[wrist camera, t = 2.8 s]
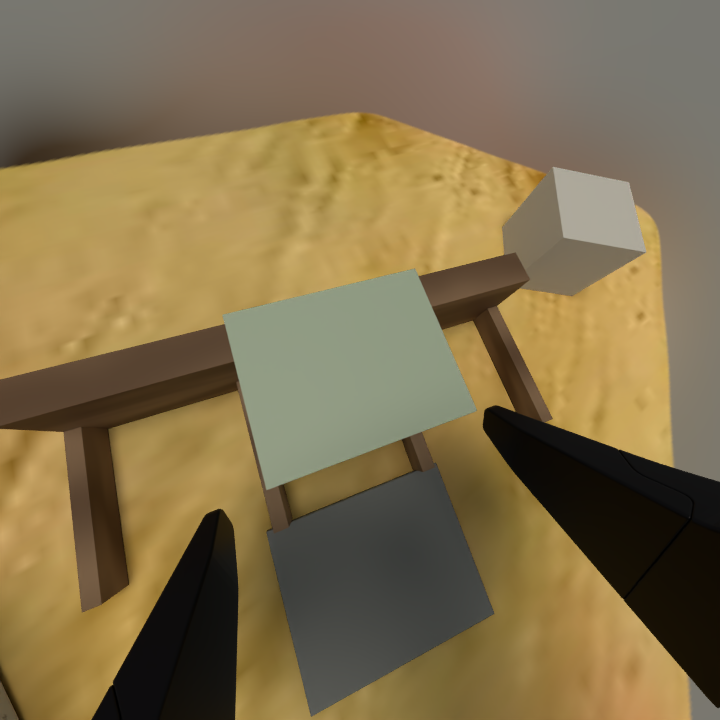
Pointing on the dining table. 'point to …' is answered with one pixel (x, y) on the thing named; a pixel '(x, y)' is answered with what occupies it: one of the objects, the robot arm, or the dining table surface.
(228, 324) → the sage block
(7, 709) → the skincare box
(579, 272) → the light grey cube
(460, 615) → the slate mat
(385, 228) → the dining table surface
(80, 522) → the lane rack
